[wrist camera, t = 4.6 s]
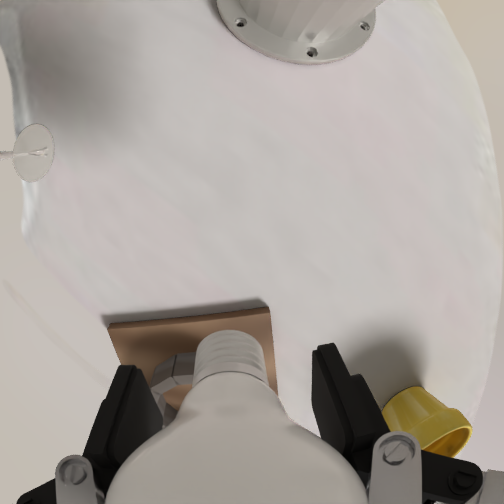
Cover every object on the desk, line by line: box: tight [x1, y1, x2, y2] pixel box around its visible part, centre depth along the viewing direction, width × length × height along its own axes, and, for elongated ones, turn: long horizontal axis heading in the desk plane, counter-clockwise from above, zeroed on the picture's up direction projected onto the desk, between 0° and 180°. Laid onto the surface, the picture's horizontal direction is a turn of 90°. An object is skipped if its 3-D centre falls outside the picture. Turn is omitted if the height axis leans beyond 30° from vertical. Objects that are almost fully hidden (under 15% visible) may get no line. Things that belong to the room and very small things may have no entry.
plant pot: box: [382, 386, 472, 458], centre depth 26 cm, size 10×10×10 cm
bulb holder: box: [107, 307, 278, 429], centre depth 25 cm, size 16×14×4 cm
